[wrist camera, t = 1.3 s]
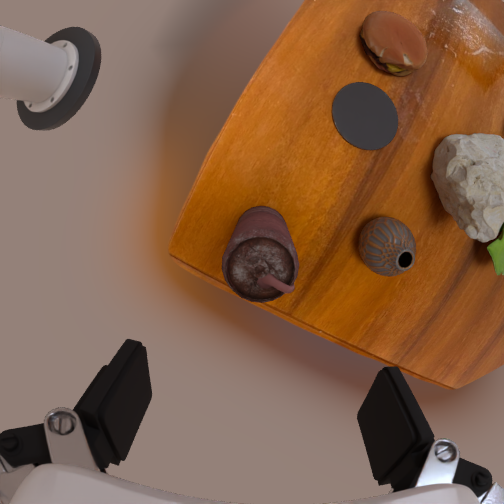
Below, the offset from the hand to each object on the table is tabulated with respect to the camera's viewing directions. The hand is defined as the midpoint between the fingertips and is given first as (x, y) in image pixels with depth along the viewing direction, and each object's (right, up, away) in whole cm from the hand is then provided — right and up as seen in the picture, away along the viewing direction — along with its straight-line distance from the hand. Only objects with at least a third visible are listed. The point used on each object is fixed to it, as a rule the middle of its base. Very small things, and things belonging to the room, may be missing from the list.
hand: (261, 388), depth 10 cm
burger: (+18, +33, +16) cm, 41 cm away
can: (+1, +8, +25) cm, 26 cm away
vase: (+16, +7, +25) cm, 30 cm away
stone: (+30, +17, +21) cm, 40 cm away
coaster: (+14, +22, +20) cm, 33 cm away
